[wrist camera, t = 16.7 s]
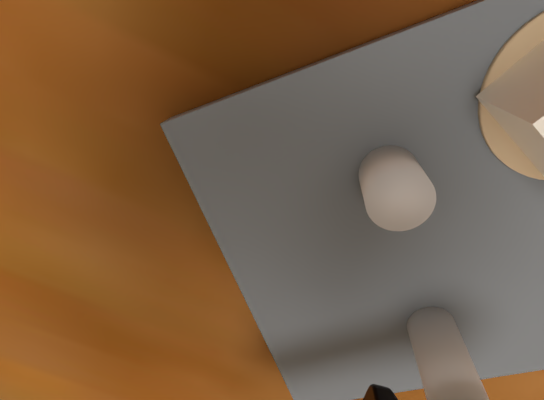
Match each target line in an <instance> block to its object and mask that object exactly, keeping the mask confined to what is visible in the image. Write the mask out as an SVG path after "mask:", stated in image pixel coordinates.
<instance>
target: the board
mask: <svg viewBox="0 0 544 400" xmlns="http://www.w3.org/2000/svg"><path fill="white" fill-rule="evenodd" d="M543 40H544V0H477V1H474V2H472V3H469V4H467V5H464V6H461V7H459V8H456V9H454V10H451V11H448V12H446V13H443V14H440V15H438V16H435V17H433V18H430V19H427V20H425V21H422V22H419V23H417V24H414V25H412V26H409V27H406V28H404V29H401V30H399V31H396V32H393V33H391V34H388V35H385V36H383V37H380V38H378V39H375V40H372V41H370V42H367V43H364V44H362V45H359V46H357V47H354V48H351V49H349V50H346V51H344V52H341V53H338V54H336V55H333V56H330V57H328V58H325V59H323V60H320V61H317V62H315V63H312V64H309V65H307V66H304V67H302V68H299V69H296V70H294V71H291V72H288V73H286V74H283V75H281V76H278V77H275V78H273V79H270V80H268V81H265V82H262V83H260V84H257V85H254V86H252V87H249V88H247V89H244V90H241V91H239V92H236V93H233V94H231V95H228V96H226V97H223V98H220V99H218V100H215V101H213V102H210V103H207V104H205V105H202V106H199V107H197V108H194V109H192V110H189V111H186V112H184V113H181V114H178V115H176V116H173V117H171V118H168V119H167V120H165V121H164V122H162V123H161V124H160V125H161V127H162V129H163V132H164V134H165V136H166V138H167V140H168V142H169V144H170V146H171V148H172V150H173V152H174V154H175V156H176V158H177V160H178V162H179V165H180V167H181V169H182V171H183V173H184V175H185V177H186V179H187V181H188V183H189V185H190V187H191V189H192V191H193V193H194V195H195V197H196V200H197V202H198V204H199V206H200V208H201V210H202V212H203V214H204V216H205V218H206V220H207V222H208V224H209V226H210V228H211V230H212V233H213V235H214V237H215V239H216V241H217V243H218V245H219V247H220V249H221V251H222V253H223V255H224V257H225V259H226V261H227V263H228V266H229V268H230V270H231V272H232V274H233V276H234V278H235V280H236V282H237V284H238V286H239V288H240V290H241V292H242V294H243V296H244V298H245V301H246V303H247V305H248V307H249V309H250V311H251V313H252V315H253V317H254V319H255V321H256V323H257V325H258V327H259V329H260V331H261V334H262V336H263V338H264V340H265V342H266V344H267V346H268V348H269V350H270V352H271V354H272V356H273V358H274V360H275V362H276V364H277V367H278V369H279V371H280V373H281V375H282V377H283V379H284V381H285V383H286V385H287V387H288V389H289V391H290V393H291V395H292V397H293V399H294V400H352V399H359V398H364V396H365V394H366V392H367V389H368V387H369V386H370V385H371V384H376V385H381V386H385V387H388V388H390V389H391V390H392V391H393V393H397V392H403V391H410V390H416V389H423V388H424V391H425V395H426V398H427V400H489V398H488V395H487V393H486V391H485V389H484V386H483V384H482V382H481V380H480V379H487V378H493V377H500V376H506V375H512V374H519V373H525V372H532V371H538V370H544V176H543V175H542V174H541V173H540V172H539V170H538V169H537V168H536V167H535V166H534V164H533V163H532V162H531V161H530V160H529V159H528V157H527V156H526V155H525V154H524V153H523V152H522V150H521V149H520V148H519V147H518V146H517V145H516V143H515V142H514V141H513V140H512V139H511V137H510V136H509V135H508V134H507V133H506V132H505V130H504V129H503V128H502V127H501V126H500V125H499V123H498V122H497V121H496V120H495V119H494V118H493V116H492V115H491V114H490V113H489V112H488V110H487V109H486V108H485V107H484V106H483V105H482V103H481V102H480V101H479V100H478V99H477V98H476V96H477V95H478V94H479V93H480V92H482V91H483V90H484V89H485V88H486V87H488V86H489V85H490V84H491V83H492V82H494V81H495V80H496V79H497V78H498V77H500V76H501V75H502V74H503V73H505V72H506V71H507V70H508V69H509V68H511V67H512V66H513V65H514V64H515V63H517V62H518V61H519V60H520V59H521V58H523V57H524V56H525V55H526V54H528V53H529V52H530V51H531V50H532V49H534V48H535V47H536V46H537V45H538V44H540V43H541V42H542V41H543Z"/></svg>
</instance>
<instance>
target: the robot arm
mask: <svg viewBox="0 0 544 400" xmlns="http://www.w3.org/2000/svg"><path fill="white" fill-rule="evenodd" d="M363 400H398V399H397V398H396V396H395V394H394V393H393V391H392V390H391V389H390V388H388V387H385V386H381V385H376V384H371V385H370V386H369V387H368V389H367V392H366V394H365V396H364V398H363Z"/></svg>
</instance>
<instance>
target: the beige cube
mask: <svg viewBox="0 0 544 400" xmlns="http://www.w3.org/2000/svg"><path fill="white" fill-rule="evenodd" d="M476 98H477V99H478V100H479V101H480V102H481V103H482V105H483V106H484V107H485V108H486V109H487V110H488V112H489V113H490V114H491V115H492V116H493V118H494V119H495V120H496V121H497V122H498V123H499V125H500V126H501V127H502V128H503V129H504V130H505V132H506V133H507V134H508V135H509V136H510V137H511V139H512V140H513V141H514V142H515V143H516V145H517V146H518V147H519V148H520V149H521V150H522V152H523V153H524V154H525V155H526V156H527V157H528V159H529V160H530V161H531V162H532V163H533V164H534V166H535V167H536V168H537V169H538V170H539V172H540V173H541V174H542V175H543V176H544V40H543V41H542V42H541V43H540V44H538V45H537V46H536V47H535V48H534V49H532V50H531V51H530V52H529V53H528V54H526V55H525V56H524V57H523V58H521V59H520V60H519V61H518V62H517V63H515V64H514V65H513V66H512V67H511V68H509V69H508V70H507V71H506V72H505V73H503V74H502V75H501V76H500V77H498V78H497V79H496V80H495V81H494V82H492V83H491V84H490V85H489V86H488V87H486V88H485V89H484V90H483V91H482V92H480V93H479V94H478V95H477V96H476Z"/></svg>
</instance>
